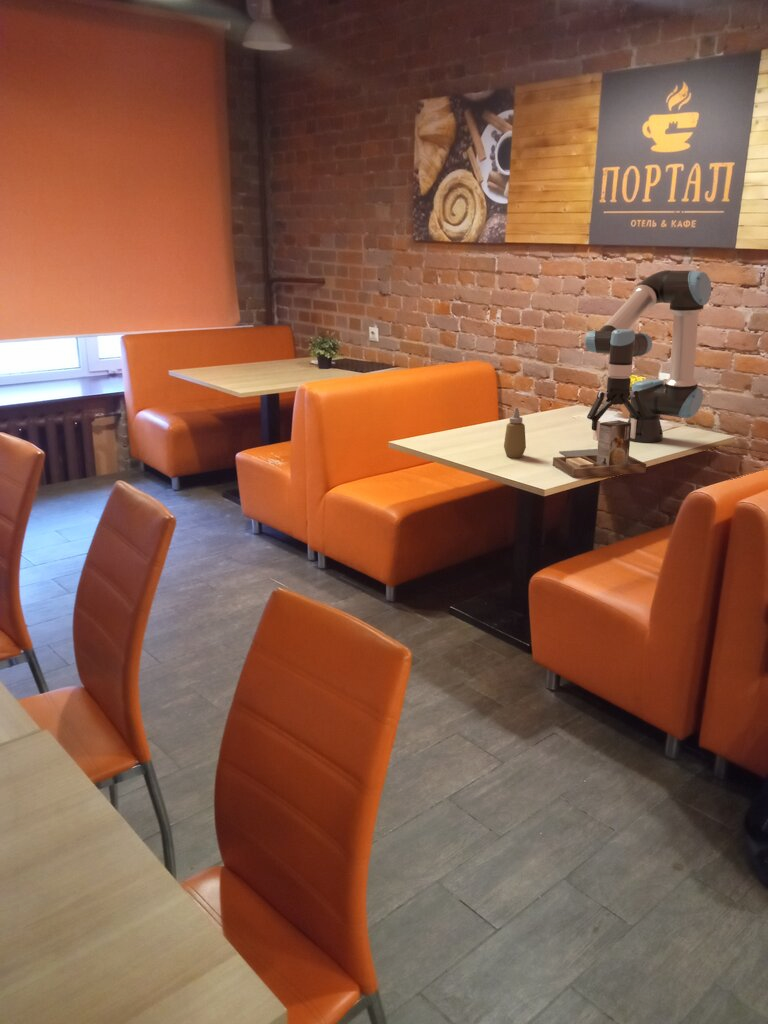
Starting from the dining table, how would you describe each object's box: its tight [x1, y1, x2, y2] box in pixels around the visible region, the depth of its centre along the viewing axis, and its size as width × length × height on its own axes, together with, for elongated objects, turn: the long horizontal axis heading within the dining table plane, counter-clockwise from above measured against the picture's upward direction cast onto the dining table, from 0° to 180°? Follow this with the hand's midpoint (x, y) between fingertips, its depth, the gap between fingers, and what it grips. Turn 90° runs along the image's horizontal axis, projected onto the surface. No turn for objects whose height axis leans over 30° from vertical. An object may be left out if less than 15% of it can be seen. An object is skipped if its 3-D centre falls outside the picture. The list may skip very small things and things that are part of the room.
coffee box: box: [597, 420, 631, 466], centre depth 283 cm, size 9×6×16 cm
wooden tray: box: [552, 454, 647, 479], centre depth 284 cm, size 27×16×3 cm, turn 103°
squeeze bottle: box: [503, 407, 527, 459], centre depth 299 cm, size 8×8×18 cm
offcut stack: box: [566, 458, 594, 468], centre depth 282 cm, size 6×10×4 cm, turn 18°
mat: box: [559, 448, 598, 457], centre depth 302 cm, size 18×13×1 cm
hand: (613, 438), depth 282 cm, fingers open, 13 cm apart
